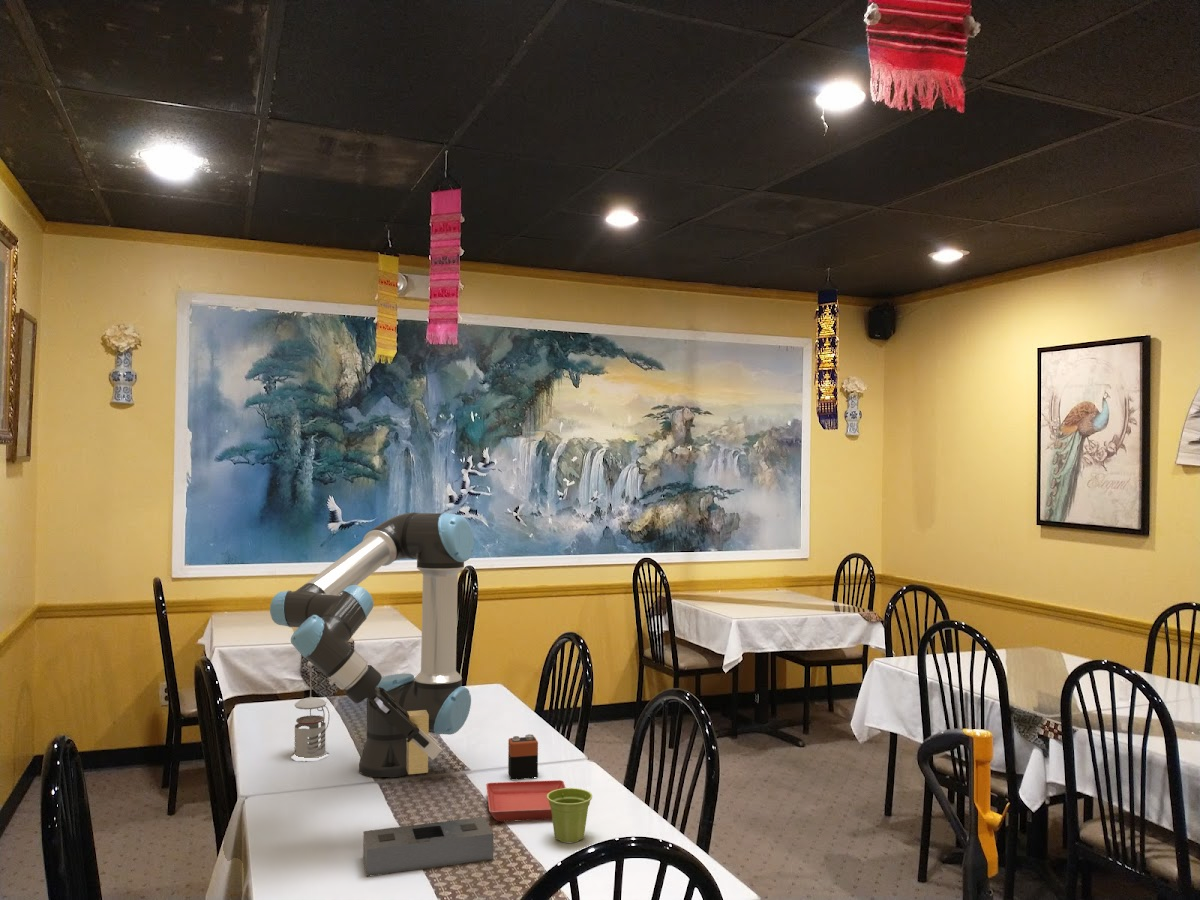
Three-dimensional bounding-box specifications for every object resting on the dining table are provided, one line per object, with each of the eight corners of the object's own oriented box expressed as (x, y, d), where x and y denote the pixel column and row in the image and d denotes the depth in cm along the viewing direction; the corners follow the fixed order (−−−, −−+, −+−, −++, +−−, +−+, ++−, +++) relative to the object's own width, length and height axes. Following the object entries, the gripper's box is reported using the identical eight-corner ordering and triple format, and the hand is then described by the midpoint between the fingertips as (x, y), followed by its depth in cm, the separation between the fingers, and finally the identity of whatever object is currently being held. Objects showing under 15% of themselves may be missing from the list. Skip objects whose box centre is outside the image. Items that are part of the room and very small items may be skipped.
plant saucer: (562, 792, 217) (563, 778, 217) (573, 822, 199) (573, 807, 199) (485, 796, 214) (486, 782, 214) (489, 827, 196) (489, 811, 196)
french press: (282, 759, 239) (283, 662, 240) (311, 746, 250) (312, 654, 251) (312, 763, 236) (313, 666, 236) (341, 750, 246) (342, 657, 247)
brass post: (408, 774, 190) (409, 716, 191) (406, 768, 194) (407, 711, 194) (428, 772, 192) (428, 714, 192) (425, 766, 195) (426, 709, 196)
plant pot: (545, 829, 194) (546, 788, 195) (590, 828, 195) (590, 786, 195) (547, 847, 185) (547, 804, 185) (593, 846, 186) (594, 803, 186)
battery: (538, 778, 226) (538, 737, 226) (510, 780, 224) (510, 739, 224) (534, 772, 230) (535, 732, 230) (507, 774, 228) (508, 734, 229)
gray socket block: (366, 876, 172) (367, 849, 172) (363, 856, 180) (363, 830, 180) (493, 859, 179) (493, 833, 179) (483, 841, 188) (484, 816, 188)
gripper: (340, 681, 196) (417, 752, 201) (344, 701, 180) (428, 778, 185) (366, 655, 198) (442, 726, 203) (372, 672, 182) (455, 749, 187)
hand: (435, 750), depth 194 cm, fingers closed on brass post, 4 cm apart
